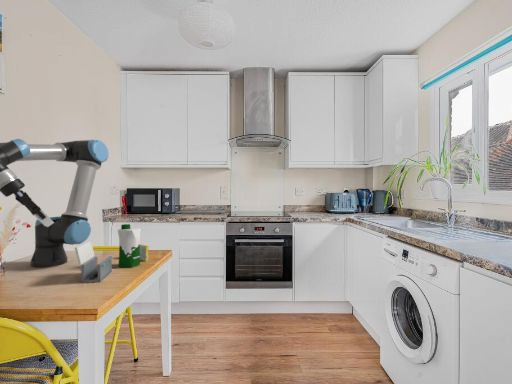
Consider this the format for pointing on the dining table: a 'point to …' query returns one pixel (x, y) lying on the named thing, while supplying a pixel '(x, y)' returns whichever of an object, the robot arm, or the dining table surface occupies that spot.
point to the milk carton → (129, 246)
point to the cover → (84, 252)
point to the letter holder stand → (95, 270)
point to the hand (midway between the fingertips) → (49, 224)
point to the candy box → (144, 252)
